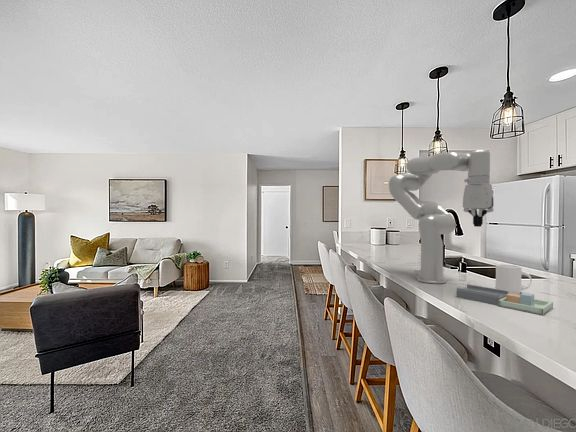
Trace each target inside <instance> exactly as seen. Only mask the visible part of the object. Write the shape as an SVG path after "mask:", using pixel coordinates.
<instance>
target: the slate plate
mask: <svg viewBox="0 0 576 432" xmlns="http://www.w3.org/2000/svg"><path fill="white" fill-rule="evenodd" d="M507 294H508V291H505V290H499V289H496V288H492V287H487V286H481V285H475V284H474V285H473V284H469V283H467V284H466V287H463V288H462V287H456V298H459V299H460V298H461V299H465V300H471V301H476V302H479V301H480V303H484V302H485V304H489V305H495V306H498V300H500V299H502V298H504V297H506V295H507Z"/></svg>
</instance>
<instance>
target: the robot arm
mask: <svg viewBox="0 0 576 432" xmlns="http://www.w3.org/2000/svg"><path fill="white" fill-rule="evenodd" d="M405 165H406V170H407V172H408V173H409V174H404V173H403V174H402V173H399V174H395V175H392V176H391V177H390V179H389V182H388V189H389V193H390V195H391V196H392V198H393V199H394V200H395V201H396V202H397V203H398V204H399V205H400V206H401V207H403V208H402V209H404V210H405V211H406V212H407V213H408V214H409V216H410V217H412V218H413V219H414V220H418V229H419V234H420V235H419V236H420V270H417V269H414V270H413V275H415V276H416V275H418V276H417V277H416V279H417V281H418V282H421V283H427V284H435V285H436V284H437V285H439V284H440V285H441V284H442V285H443V284H445V283H447V279H446V278H444V277H443V274H444V272H443V271H444V269H443V268H444V242H443V239H442V236H441V235H448V234H449V235H450V234H451V233H453V232H454V231H455V230H456V225H457V224H456V220H455V219H454V217H453V216H452V215H451V214H450V213H449V211H447V210H446V209H445V208H444V207H442V206H441V205H440V204H439V203H437V202H435V201H431V200H422V199H420V198H419V197H418V196H417V195H416V194H414V193H413V192H415V191H418V190H419V189H421V188H422V187H423V186H424V184H426V182H427V181H428V180H429V179H430V178H431V177H432V176H433V175H436V174H438V173H439V172H441V171H459V172H467V178H466V179H464V183H467V184H465V187H464V190H463V196H462V208H463V212H465V213H469V214H470V215H471V217H472V224H473V226H474V227H477V228H478V227H479V228H480V227H482V225H483V224H484V223H483V222H484V221H483V218H484V217H485V216H486V214H488V213H493V212H494V202H495V201H494V191H493V187H492V183H490V180H491V179H490V178H491V177H490V175H491V174H490V173H491V172H490V171H491V153H490V151H489V150H487V149H478V150H477V149H476V150H472V151H469V153H468V152H467V153H464V152H457V151H454V152H453V151H448V152H441V153H435V154H433V155H429V156H420V157H413V158H411V159H410V160H408V161H407V163H406V164H405Z"/></svg>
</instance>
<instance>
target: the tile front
mask: <svg viewBox="0 0 576 432" xmlns="http://www.w3.org/2000/svg"><path fill="white" fill-rule="evenodd" d="M519 295H520V304H522V305H528V306H534V299H535V294H534V293H527V292H522V293H520V294H519Z"/></svg>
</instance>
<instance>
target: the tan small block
mask: <svg viewBox="0 0 576 432" xmlns="http://www.w3.org/2000/svg"><path fill="white" fill-rule="evenodd" d="M506 301H507V302H512V303H517V304H520V294H512V293H509V294H507V295H506Z"/></svg>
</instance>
